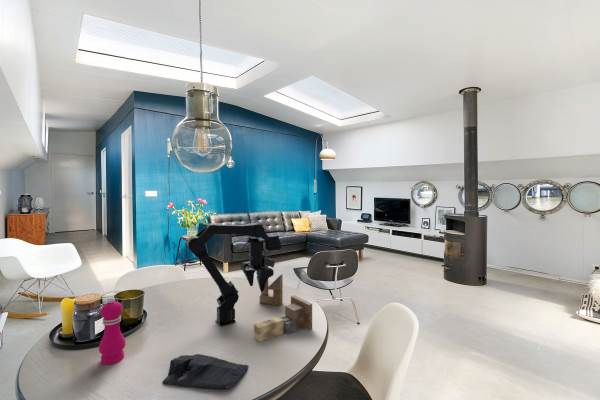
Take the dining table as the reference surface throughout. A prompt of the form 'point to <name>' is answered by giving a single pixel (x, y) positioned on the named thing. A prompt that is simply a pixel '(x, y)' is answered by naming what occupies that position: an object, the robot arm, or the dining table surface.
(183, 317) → the dining table surface
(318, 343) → the dining table surface
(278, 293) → the wooden block
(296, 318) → the brown boxy piece
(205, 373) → the dark slate chunk
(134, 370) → the dining table surface
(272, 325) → the tan oblong piece
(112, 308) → the pepper mill
